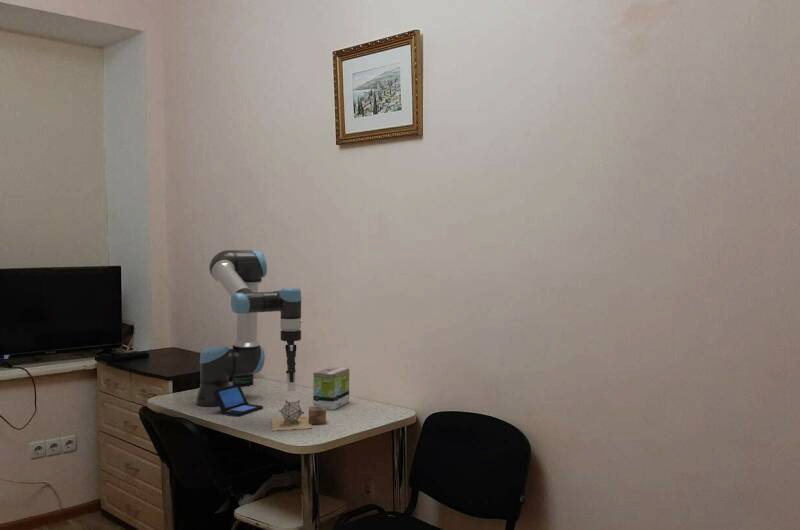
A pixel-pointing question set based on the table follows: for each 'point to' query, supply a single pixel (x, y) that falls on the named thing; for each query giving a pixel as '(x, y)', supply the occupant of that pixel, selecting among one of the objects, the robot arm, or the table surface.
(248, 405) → the handheld game console
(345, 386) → the tea box
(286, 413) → the grey spiky ornament
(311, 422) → the walnut block
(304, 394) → the table surface
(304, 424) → the envelope
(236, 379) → the storage jar
